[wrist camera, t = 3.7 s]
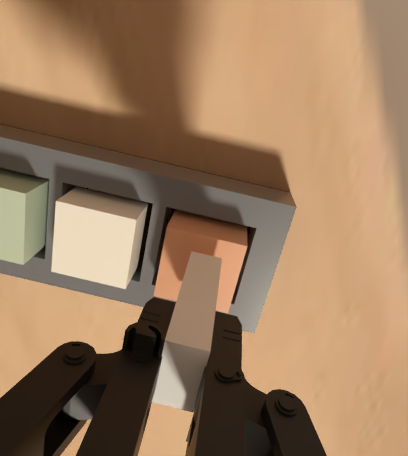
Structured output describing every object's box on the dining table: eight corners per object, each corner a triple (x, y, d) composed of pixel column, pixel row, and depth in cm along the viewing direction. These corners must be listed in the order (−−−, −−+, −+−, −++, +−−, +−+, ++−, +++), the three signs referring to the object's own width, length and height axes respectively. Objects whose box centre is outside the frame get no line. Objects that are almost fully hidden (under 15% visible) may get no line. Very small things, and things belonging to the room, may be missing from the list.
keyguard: (-36, 240, 24) (-64, 257, 22) (-41, 114, 21) (-73, 119, 19) (253, 309, 24) (254, 333, 22) (290, 192, 21) (296, 206, 19)
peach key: (162, 272, 22) (153, 295, 20) (175, 209, 21) (166, 227, 18) (229, 288, 22) (227, 313, 20) (246, 226, 21) (247, 246, 18)
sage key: (-21, 229, 22) (-51, 247, 20) (-22, 163, 21) (-55, 174, 18) (45, 244, 22) (23, 265, 20) (49, 180, 21) (25, 193, 18)
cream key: (71, 250, 22) (51, 271, 20) (76, 186, 21) (55, 200, 18) (137, 266, 22) (125, 289, 20) (148, 203, 21) (136, 219, 18)
